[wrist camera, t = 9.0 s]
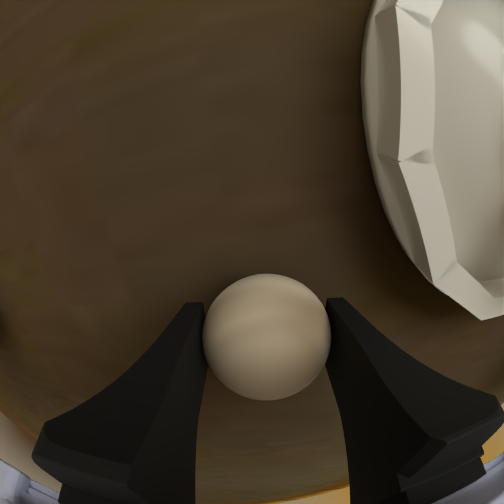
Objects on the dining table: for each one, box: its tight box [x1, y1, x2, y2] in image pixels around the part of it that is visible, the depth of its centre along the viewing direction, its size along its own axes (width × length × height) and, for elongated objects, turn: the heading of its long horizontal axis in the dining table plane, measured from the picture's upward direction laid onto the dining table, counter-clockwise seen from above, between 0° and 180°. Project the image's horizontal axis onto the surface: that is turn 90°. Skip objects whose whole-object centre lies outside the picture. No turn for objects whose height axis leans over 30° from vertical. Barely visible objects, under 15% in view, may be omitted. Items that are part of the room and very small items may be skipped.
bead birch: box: [202, 274, 331, 400], centre depth 10 cm, size 4×4×4 cm
